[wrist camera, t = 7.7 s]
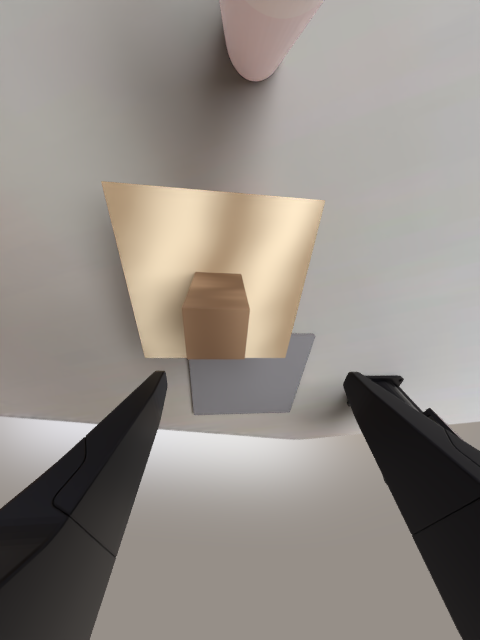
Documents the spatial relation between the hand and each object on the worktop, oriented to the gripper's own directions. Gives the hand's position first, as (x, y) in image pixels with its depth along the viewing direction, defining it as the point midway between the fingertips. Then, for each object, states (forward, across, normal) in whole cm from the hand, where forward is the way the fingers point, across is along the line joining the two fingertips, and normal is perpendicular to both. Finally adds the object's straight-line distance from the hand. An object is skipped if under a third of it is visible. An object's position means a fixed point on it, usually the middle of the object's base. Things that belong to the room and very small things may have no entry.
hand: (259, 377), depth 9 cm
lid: (+7, +2, -2) cm, 7 cm away
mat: (+12, -2, +13) cm, 18 cm away
